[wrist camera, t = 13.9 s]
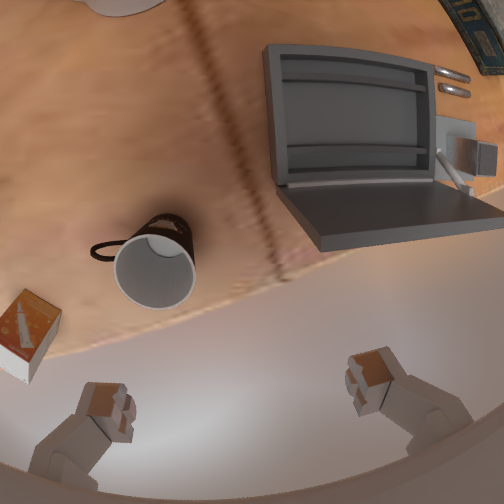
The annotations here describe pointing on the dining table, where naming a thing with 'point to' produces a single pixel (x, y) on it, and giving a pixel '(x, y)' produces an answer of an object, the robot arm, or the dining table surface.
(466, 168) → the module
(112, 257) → the coffee mug
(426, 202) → the case
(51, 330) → the small box
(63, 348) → the dining table surface
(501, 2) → the metal box
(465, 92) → the rods
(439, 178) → the pad
